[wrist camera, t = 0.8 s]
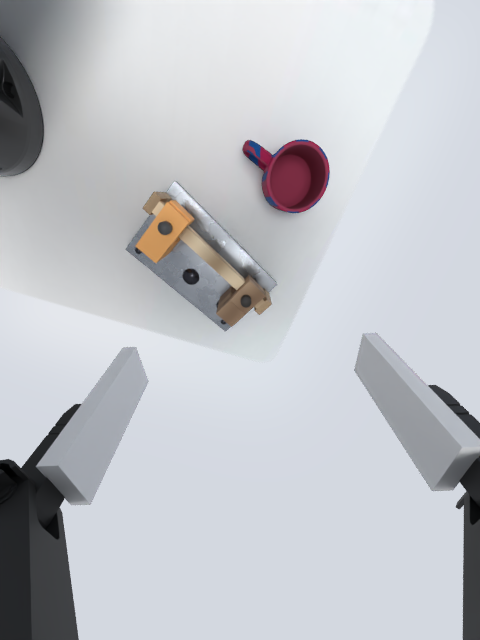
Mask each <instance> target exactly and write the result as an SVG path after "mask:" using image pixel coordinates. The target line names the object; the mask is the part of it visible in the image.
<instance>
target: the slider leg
mask: <svg viewBox="0 0 480 640" xmlns="http://www.w3.org/2000/svg"><path fill="white" fill-rule="evenodd" d="M193 221H194V218H193V217H192V216H191V215H190V214H189V213H188V212H187V211H186V210H185V209H184V208H183V207H182V206H181V205H180V204H179V203H178V202H177V201H176V200H171V201H170V202H167V203H166V204H165V206H164V207H163V208H162V210H161V211H160V212H159V214H158V215H157V217H156V218H155V219H154V221H153V222H152V223H151V225H150V226H149V228H148V229H147V230H146V232H145V233H144V234H143V236H142V237H141V239H140V240H139V242H138V243H137V244H136V247H137V248H138V249H139V250H141V251H142V252H143V253H144V254H145V255H146V256H148V257H149V258H150V259H151V260H152V261H154V262H155V263H157V262H159V261H160V260H161V259H163V258H164V257H165V256H167V255H168V254H169V253H170V252H171V251H172V249H173V248H174V247H175V246H176V245H177V243H178V242H179V241H180V240H181V239H180V238H179V236H180V234H181V233H182V232H183V231H184V229H185V228H186V227H187V226H188V225H190V224H191V223H192V222H193Z"/></svg>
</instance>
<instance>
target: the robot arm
mask: <svg viewBox="0 0 480 640" xmlns="http://www.w3.org/2000/svg"><path fill="white" fill-rule="evenodd" d="M42 139H43V123H42V115H41V110H40V106H39V102H38V99H37V96H36V93H35V91H34V88H33V86H32V84H31V81H30V79H29V77H28V75H27V73H26V72H25V70H24V68H23V66H22V65H21V63H20V62H19V60H18V59H17V57H16V56H15V54H14V53H13V52H12V50H11V49H10V48H9V46H8V45H7V44H6V43H5V42H4V41H3V39H2V38H1V37H0V176H12V175H16V174H19V173H22V172H24V171H25V170H27V169H28V168H29V167H30V166H31V165H32V164H33V163H34V162H35V160H36V159H37V157H38V155H39V152H40V149H41V145H42ZM354 371H355V372H356V374H357V375H358V377H359V378H360V380H361V382H362V383H363V385H364V386H365V388H366V389H367V391H368V392H369V394H370V396H371V397H372V399H373V400H374V402H375V403H376V405H377V406H378V408H379V410H380V411H381V413H382V414H383V416H384V417H385V419H386V420H387V422H388V423H389V425H390V427H391V428H392V430H393V431H394V433H395V434H396V436H397V438H398V439H399V441H400V442H401V444H402V445H403V447H404V448H405V450H406V451H407V453H408V455H409V456H410V458H411V459H412V461H413V462H414V464H415V465H416V467H417V469H418V470H419V472H420V473H421V475H422V476H423V478H424V479H425V481H426V483H427V484H428V486H429V487H430V489H431V490H432V491H447V490H448V491H449V490H454V488H455V487H456V486H457V484H458V483H459V482H460V483H461V484H462V485H463V487H464V488H465V489H466V493H465V494H464V495H463V496H462V497H461V499H460V500H459V501H458V502H457V505H456V508H458V509H460V508H461V507H462V506H463V505H464V563H463V564H464V565H463V570H464V571H463V573H464V574H463V640H480V423H479V422H478V421H477V420H476V419H475V418H474V417H473V416H472V415H470V414H469V412H468V411H467V410H466V409H464V407H463V406H460V404H459V402H457V400H456V399H454V398H453V397H452V396H451V395H450V394H449V393H448V392H446V391H444V390H443V389H441V388H440V387H438V386H436V385H427V384H426V383H425V382H424V381H423V380H422V379H421V378H420V377H419V376H418V375H417V374H416V373H415V372H414V371H413V370H412V369H411V368H410V367H409V366H408V365H407V364H406V363H405V362H404V361H403V360H402V359H401V358H400V357H399V355H397V353H396V352H395V351H394V350H393V349H392V348H391V347H390V346H389V345H388V344H387V343H386V342H385V341H384V340H383V339H382V338H381V337H380V336H379V335H378V334H377V333H366V334H363V335H362V340H361V345H360V348H359V353H358V357H357V361H356V365H355V369H354ZM147 383H148V379H147V376H146V374H145V371H144V368H143V365H142V362H141V360H140V357H139V354H138V352H137V348H136V347H126V348H123V349H122V350H121V351H120V353H119V354H118V355H117V357H116V358H115V359H114V361H113V362H112V364H111V365H110V366H109V368H108V369H107V370H106V372H105V373H104V375H103V376H102V377H101V378H100V380H99V381H98V383H97V384H96V385H95V387H94V388H93V389H92V391H91V392H90V394H89V395H88V396H87V398H86V399H85V400H84V402H83V403H82V404H75V405H74V406H73V407H71V408H70V409H69V410H68V411H67V412H66V413H64V414H63V415H62V417H61V418H60V419H59V421H58V422H57V423H56V426H54V427H53V428H52V430H51V431H50V432H49V435H48V436H46V437H45V438H44V440H43V441H42V442H41V444H40V445H39V446H38V447H37V449H36V450H35V451H34V452H33V454H32V455H31V456H30V458H29V459H28V460H27V461H26V463H25V464H24V465H23V466H22V468H20V467H19V466H18V465H17V464H16V463H15V462H14V461H12V460H9V459H6V460H0V640H79V639H78V631H77V624H76V617H75V608H74V601H73V593H72V587H71V586H72V585H71V578H70V571H69V562H68V555H67V547H66V539H65V532H64V524H63V516H62V512H61V509H60V508H59V507H60V505H61V504H62V502H63V500H64V498H65V499H66V500H67V501H68V502H69V503H70V504H71V505H90V504H91V502H92V500H93V498H94V496H95V493H96V492H97V489H98V487H99V485H100V483H101V481H102V479H103V477H104V474H105V472H106V470H107V468H108V466H109V464H110V462H111V459H112V457H113V455H114V453H115V451H116V449H117V447H118V445H119V442H120V441H121V439H122V436H123V434H124V432H125V430H126V428H127V425H128V424H129V421H130V419H131V417H132V415H133V413H134V411H135V409H136V407H137V405H138V402H139V400H140V398H141V396H142V394H143V392H144V390H145V388H146V386H147Z"/></svg>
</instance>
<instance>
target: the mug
mask: <svg viewBox="0 0 480 640" xmlns="http://www.w3.org/2000/svg"><path fill="white" fill-rule="evenodd" d="M242 150H243V152H244V154H245V155H246V156H247V157H248V158H249V159H250V160H251V161H253V162H254V163H255V164H256V165H257V166H259V167H260V168H261V169H262V170H263V171H264V174H263V178H262V189H263V193H264V196H265V198H266V200H267V201H268V202H269V204H270V205H272V206H273V207H275V208H276V209H279V210H282V211H285V212H289V213H300V212H303V211H306V210H308V209H310V208H311V207H313V206H314V205H315V204H316V203H317V202H318V201H319V200H320V199H321V197H322V196H323V194H324V192H325V190H326V188H327V185H328V181H329V163H328V159H327V157H326V155H325V153H324V152H323V150H322V149H321V148H320V147H319V146H318V145H317V144H315V143H314V142H311V141H308V140H295V141H292V142H289V143H287V144H286V145H284V146H283V147H282V148H280V149H279V150H278V151H277V153H275V154H274V155H272V154H271V153H269V152H268V151H267V150H265V149H264V148H263V147H261V146H260V145H258V144H257V143H255V142H253V141H251V140H247V141H246V142H245V144H244V145H243V149H242Z"/></svg>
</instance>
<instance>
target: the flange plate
mask: <svg viewBox="0 0 480 640" xmlns="http://www.w3.org/2000/svg"><path fill="white" fill-rule="evenodd" d="M166 193H167V194H168V195H169V196H170V197H171V198H172V200H176V201H177V202H178V203H179V204H180V205H181V206H182V207H183V208H184V209H185V210H186V211H187V212H188V213H189V214H190V215H191V216H192V217H193V218H194V221H193V222H192V223H191V224H190V225H189V226H190V227H191V228H192V229H193V230H194V231H195V232H196V233H197V234H198V235H200V236H201V237H202V238H203V239H204V240H205V241H206V242H207V243H208V244H209V245H210V246H211V247H212V248H213V249H214V250H215V251H216V252H217V253H218V254H219V255H220V256H221V257H223V258H224V259H225V260H226V261H227V262H228V263H229V264H230V265H231V266H232V267H233V268H234V269H235V270H236V271H237V272H238V273H239V274H240V275H241V276H242V277H243V278H244V279H245V278H246V277H247V276H248V275H250V276H251V277H252V278H253V279H254V280H255V281H256V282H257V283H258V284H259V285H260V286H261V287H262V288H263V289H264V288H265V289H266V290H267V291H268V292H270V291H271V290H272V289H273V288H274V287H275V286H276V285H277V283H276V282H275V281H274V280H273V279H272V278H271V277H270V275H269V274H268V273H267V272H266V271H265V270H264V269H263V268H262V267H261V266H260V265H259V264H258V263H257V262H256V261H255V260H254V259H253V258H252V257H251V256H250V255H249V254H248V253H247V252H246V251H245V250H244V249H243V248H242V247H241V246H240V245H239V244H238V243H237V242H236V241H235V240H234V239H233V238H232V237H231V236H230V235H229V234H228V233H227V232H226V231H225V230H224V229H223V228H222V227H221V226H220V225H219V224H218V223H217V222H216V221H215V220H214V219H213V218H212V217H211V216H210V215H209V214H208V213H207V212H206V211H205V210H204V209H203V208H202V207H201V206H200V205H199V204H198V203H197V202H196V201H195V200H194V199H193V198H192V197H191V196H190V195H189V194H188V193H187V192H186V191H185V189H184V188H183V187H182V186H181V185H180V184H179V183H178V182H176V181H174V182H173V184H172V185H171V186H170V188H169V189H168V191H167V192H166ZM155 218H156V216H155V215H154V214H152V215H150V216H149V217H148V219H147V220H146V221H145V223H144V224H143V226H142V227H141V228H140V230H139V231H138V233H137V234H136V235H135V237H134V238H133V240H132V241H131V242H130V244H129V245H128V247H127V248H126V250H127V251H128V252H130V253H131V254H132V255H133V256H134V257H136V258H137V259H138V260H139V261H140V262H142V263H143V264H144V265H145V266H147V267H148V268H149V269H150V270H151V271H153V272H154V273H155V274H156V275H158V276H159V277H160V278H161V279H162V280H164V281H165V282H166V283H167V284H168V285H170V286H171V287H172V288H173V289H175V290H176V291H177V292H178V293H179V294H181V295H182V296H183V297H184V298H186V299H187V300H188V301H189V302H190V303H192V304H193V305H194V306H195V307H196V308H198V309H199V310H200V311H201V312H203V313H204V314H205V315H206V316H207V317H209V318H210V319H211V320H212V321H214V322H215V323H216V324H217V325H218V326H220V327H221V328H222V329H223V330H224V331H226V330H228V329H229V328H230V327H231V326H230V325H229V324H227V323H226V322H225V321H224V320H223V319H222V318H220V317H219V316H218V315H217V314H216V312H217V307H218V303H219V299H220V297H221V296H222V295H223V294H224V293H225V292H226V291H227V290H228V289H229V288H230V287H231V285H230V284H229V283H228V282H227V281H226V280H225V279H224V278H223V277H222V276H220V275H219V274H218V273H217V272H216V271H215V270H214V269H213V268H212V267H211V266H210V265H208V264H207V263H206V262H205V261H204V260H203V259H202V258H201V257H200V256H199V255H198V254H197V253H195V252H194V251H193V250H192V249H191V248H190V247H189V246H188V245H187V244H186V243H185V242H183V241H182V240H180V241H179V242H178V243H177V245H176V246H175V247H174V248H173V249H172V251H171V252H170V253H169V254H168V255H167V256H165V257H164V258H163V259H161V260H160V261H159V262H157V263H155V262H154V261H152V260H151V259H150V258H149V257H148V256H146V255H145V254H144V253H143V252H142V251H141V250H139V249H138V248H137V247H136V244H137V243H138V242H139V240H140V239H141V237H142V236H143V234H144V233H145V232H146V230H147V229H148V228H149V226H150V225H151V223H152V222H153V221H154V219H155Z"/></svg>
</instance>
